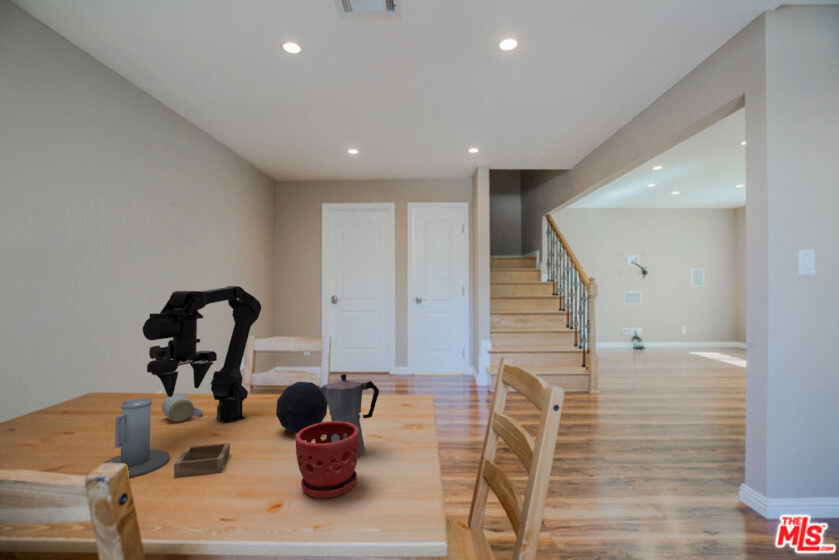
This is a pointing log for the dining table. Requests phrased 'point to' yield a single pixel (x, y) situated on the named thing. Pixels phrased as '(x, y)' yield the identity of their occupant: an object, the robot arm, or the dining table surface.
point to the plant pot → (327, 458)
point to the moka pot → (348, 403)
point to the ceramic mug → (179, 408)
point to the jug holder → (202, 460)
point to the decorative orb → (301, 406)
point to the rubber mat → (154, 463)
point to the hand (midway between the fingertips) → (183, 392)
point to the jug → (134, 431)
